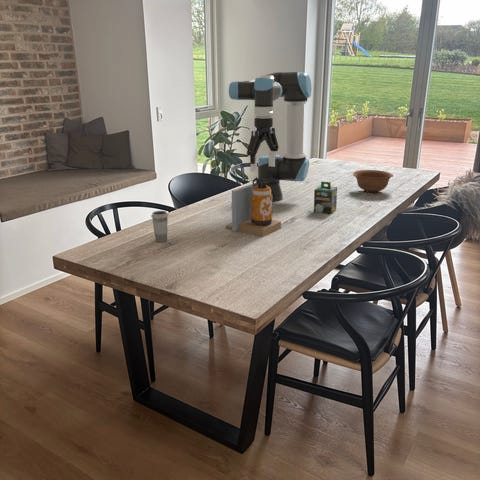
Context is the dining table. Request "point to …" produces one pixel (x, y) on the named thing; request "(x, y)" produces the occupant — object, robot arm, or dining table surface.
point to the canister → (261, 202)
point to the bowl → (372, 180)
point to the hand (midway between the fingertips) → (262, 168)
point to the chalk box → (325, 198)
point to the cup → (160, 225)
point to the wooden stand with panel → (247, 214)
